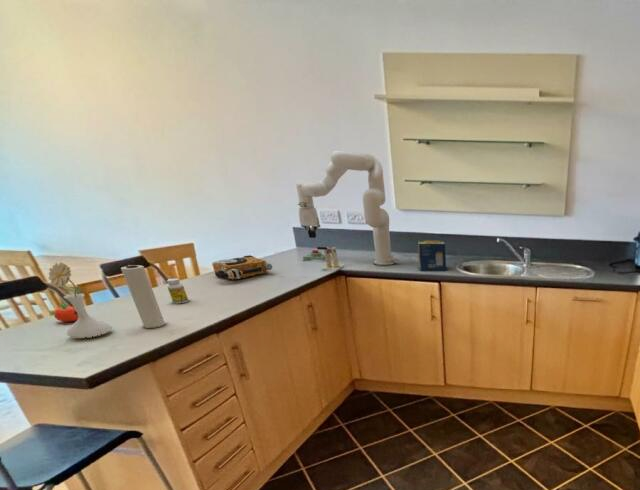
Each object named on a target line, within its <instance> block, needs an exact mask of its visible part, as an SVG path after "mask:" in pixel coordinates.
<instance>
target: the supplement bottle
mask: <svg viewBox="0 0 640 490" xmlns="http://www.w3.org/2000/svg"><path fill="white" fill-rule="evenodd" d="M166 281H167V286H166V287H167V290H168V293H169V295H170V299H171V301H172V303H173V304H184V303H188V302H189V297H188V295H187V291H186V290H185V287H184V285H183V283H181V281H180V279H179V278H177V277H176V278H168V279H167V280H166Z"/></svg>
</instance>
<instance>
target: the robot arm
mask: <svg viewBox="0 0 640 490" xmlns="http://www.w3.org/2000/svg"><path fill="white" fill-rule="evenodd" d="M324 169H325V170H324V171H325V172H326V173H325V175H324V177H323V178H322V179H321V180H320V181H319V182H318V181H316V182H307V181H304V182H303V181H299V182H298V181H297V183H296V184H295V185H296V192H297V197H298V202H297V206H299V207H298V218H299V224H300V227H301V228H304V229H305V230H306V231H307V235H308V237H309V239H315V238H317V233H316V231H317V230H318V229H319V228H321V227H322V225H321V224H320V220H319V219H320V217H319V215H318V212H317V209H316V207H315V204H314V198H318V197H319V198H320V197H325V196H327V195H328V194H330V193H331V191H333V190H334V188H335V187H336V186H337V184H338V181H339V180H340V179H341V177H342V176H344V175H345V174H346V173H347V171H348V170H349V171H358V172H365V171H367V172H368V176H367V180H368V181H367V182H368V188H367V189H365V190H364V192H363V194H362V206H363V215H364V220H365V222H366V224H367V225H368V226H369V227H371V228H372V236H373V245H374V253H375V254H374V255H375V260H374V261H373V263H374V265H377V266H391V265H394V264H395V263H396V262H399V261H400V258H399V257H397V256H396V257H394V255H393V254H392V246H391V236H390V235H391V233H390V216H389V213H388V212H387V210H386V209H384V208H381V206H383V205H384V204H385V203H386V191H385V180H384V170H383V166H382V164H381V162H380V161H379V159H378V158H376V157H375V156H373V155H372V154H369V153H360V152H350V151H346V150H335V151H333V152H332V153H331V155H330V162H329V163H328V164H327V165H326V166H325V168H324Z"/></svg>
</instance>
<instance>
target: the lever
mask: <svg viewBox="0 0 640 490" xmlns="http://www.w3.org/2000/svg"><path fill="white" fill-rule="evenodd" d="M327 247H328V246H317V247H316V250H318V251H320V250H323V251H324V250H325V251H327V253H330V255H332V252H331V248H330V247H329V248H327Z"/></svg>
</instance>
